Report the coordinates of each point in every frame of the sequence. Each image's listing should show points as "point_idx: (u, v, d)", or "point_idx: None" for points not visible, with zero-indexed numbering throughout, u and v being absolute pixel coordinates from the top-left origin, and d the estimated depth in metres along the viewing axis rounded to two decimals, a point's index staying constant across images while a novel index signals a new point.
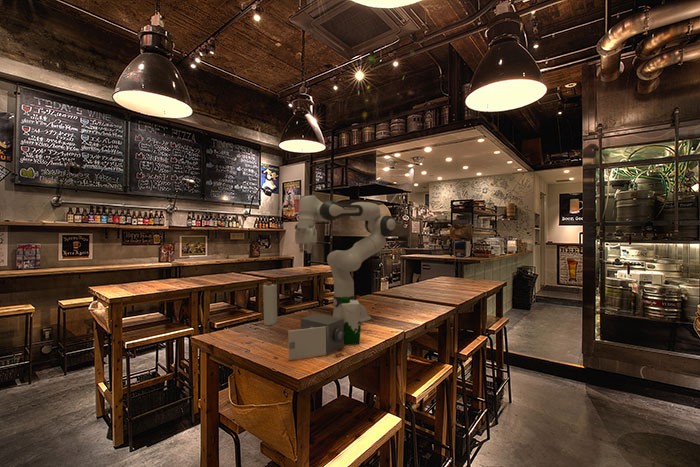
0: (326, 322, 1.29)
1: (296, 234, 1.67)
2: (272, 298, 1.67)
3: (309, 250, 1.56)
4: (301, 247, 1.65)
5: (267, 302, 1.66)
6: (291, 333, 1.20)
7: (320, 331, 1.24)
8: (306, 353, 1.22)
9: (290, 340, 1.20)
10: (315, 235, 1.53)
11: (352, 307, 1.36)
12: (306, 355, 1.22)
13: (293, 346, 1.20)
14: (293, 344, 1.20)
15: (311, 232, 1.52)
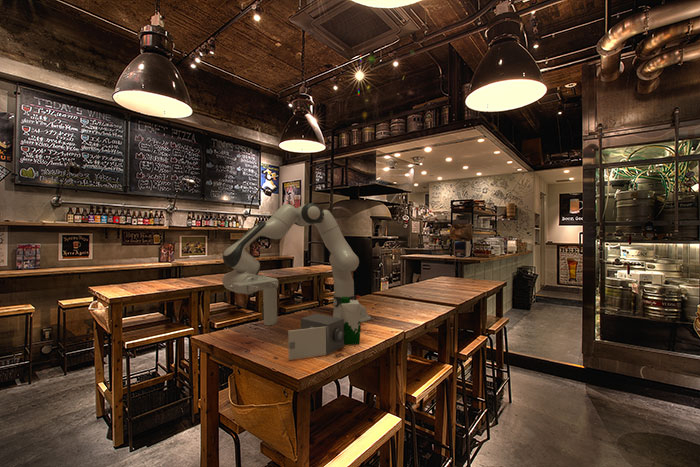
0: (326, 322, 1.29)
1: None
2: (272, 298, 1.67)
3: (254, 288, 1.26)
4: None
5: (267, 302, 1.66)
6: (291, 333, 1.20)
7: (320, 331, 1.24)
8: (306, 353, 1.22)
9: (290, 340, 1.20)
10: (234, 286, 1.27)
11: (352, 307, 1.36)
12: (306, 355, 1.22)
13: (293, 346, 1.20)
14: (293, 344, 1.20)
15: (233, 290, 1.28)
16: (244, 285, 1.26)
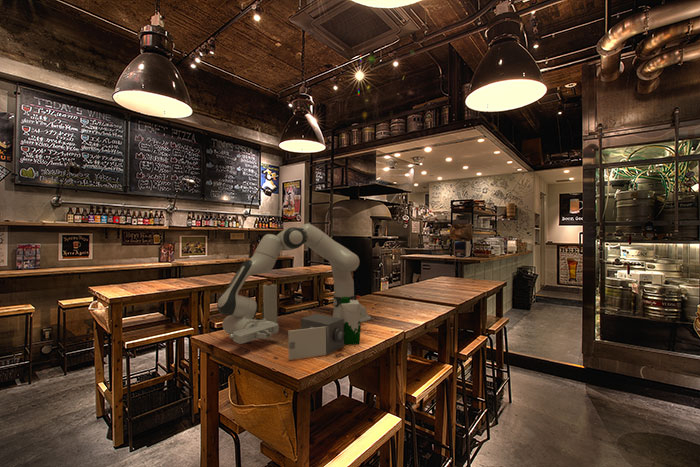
0: (326, 322, 1.29)
1: None
2: (272, 298, 1.67)
3: (263, 336, 1.29)
4: None
5: (267, 302, 1.66)
6: (291, 333, 1.20)
7: (320, 331, 1.24)
8: (306, 353, 1.22)
9: (290, 340, 1.20)
10: (234, 335, 1.27)
11: (352, 307, 1.36)
12: (306, 355, 1.22)
13: (293, 346, 1.20)
14: (293, 344, 1.20)
15: (233, 340, 1.29)
16: (244, 335, 1.27)
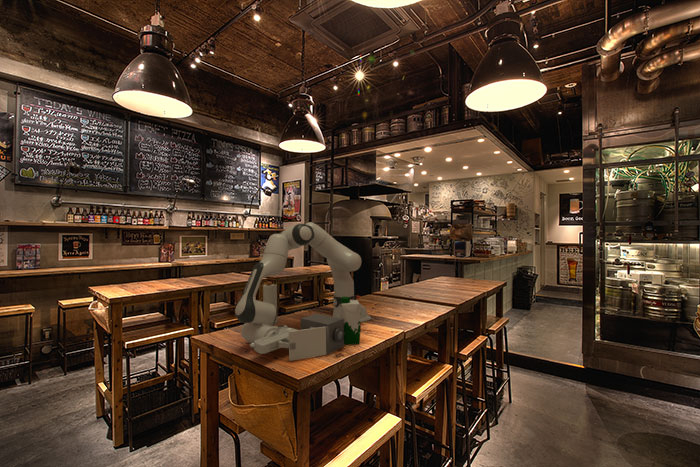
0: (326, 322, 1.29)
1: None
2: (272, 298, 1.67)
3: (285, 345, 1.20)
4: None
5: (267, 302, 1.66)
6: (292, 334, 1.20)
7: (321, 331, 1.24)
8: (306, 353, 1.22)
9: (291, 341, 1.19)
10: (256, 345, 1.19)
11: (352, 307, 1.36)
12: (306, 356, 1.22)
13: (294, 347, 1.19)
14: (294, 345, 1.19)
15: (254, 349, 1.20)
16: (266, 344, 1.18)
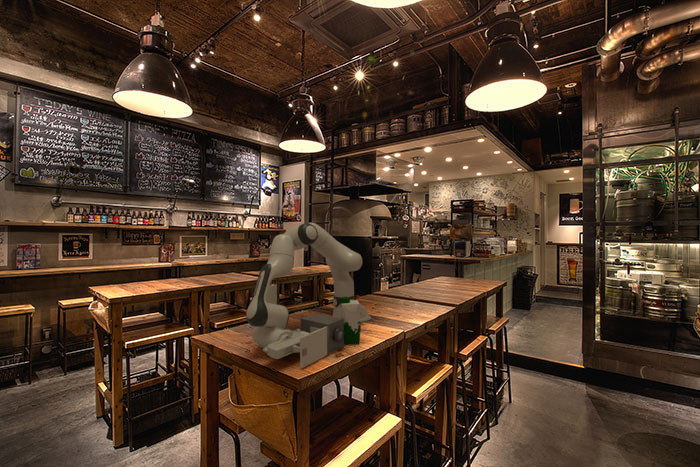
0: (326, 322, 1.29)
1: None
2: (272, 298, 1.67)
3: None
4: None
5: (267, 302, 1.66)
6: (303, 339, 1.13)
7: (323, 332, 1.23)
8: (314, 357, 1.18)
9: (303, 347, 1.13)
10: (269, 349, 1.14)
11: (352, 307, 1.36)
12: (314, 359, 1.18)
13: (305, 352, 1.14)
14: (305, 350, 1.14)
15: (268, 354, 1.15)
16: (281, 349, 1.12)
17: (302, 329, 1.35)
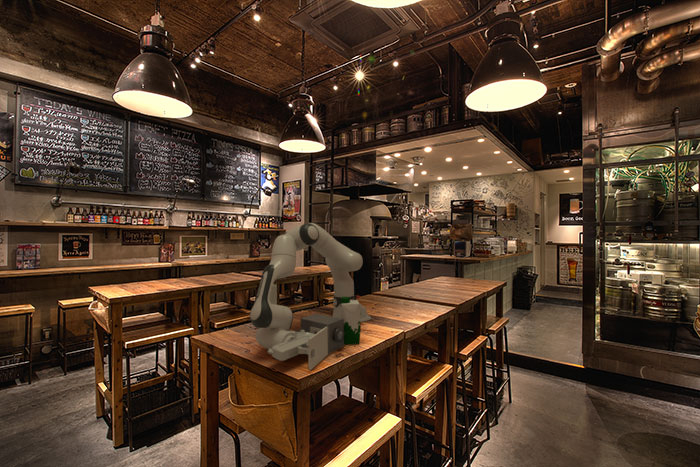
0: (326, 322, 1.29)
1: None
2: (272, 298, 1.67)
3: (305, 351, 1.14)
4: None
5: None
6: (311, 340, 1.12)
7: (325, 332, 1.23)
8: (319, 358, 1.17)
9: (311, 348, 1.11)
10: (274, 351, 1.12)
11: (352, 307, 1.36)
12: (319, 360, 1.17)
13: (313, 354, 1.12)
14: (313, 352, 1.12)
15: (273, 356, 1.13)
16: (286, 351, 1.11)
17: (302, 329, 1.35)
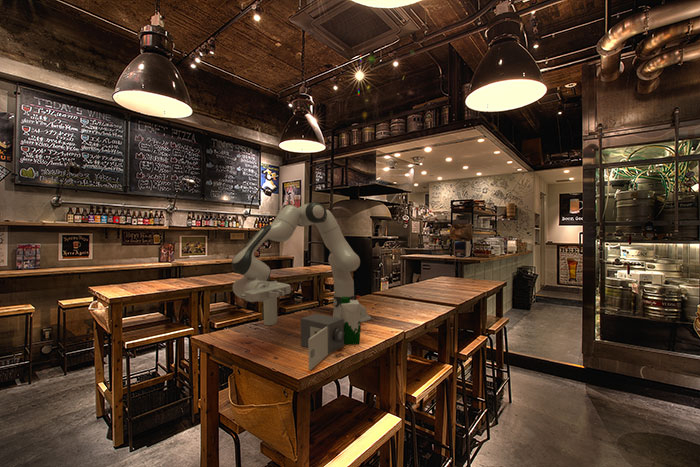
0: (326, 322, 1.29)
1: None
2: (272, 298, 1.67)
3: (275, 294, 1.25)
4: None
5: (267, 302, 1.66)
6: (311, 340, 1.12)
7: (325, 332, 1.23)
8: (319, 358, 1.17)
9: (311, 348, 1.11)
10: (246, 294, 1.23)
11: (352, 307, 1.36)
12: (319, 360, 1.17)
13: (313, 354, 1.12)
14: (313, 352, 1.12)
15: (245, 299, 1.24)
16: (256, 293, 1.22)
17: (302, 329, 1.35)
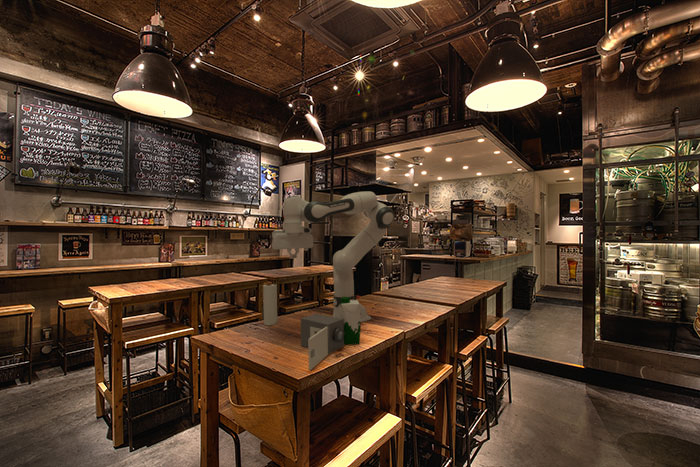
0: (326, 322, 1.29)
1: None
2: (272, 298, 1.67)
3: (290, 255, 1.50)
4: (296, 252, 1.52)
5: (267, 302, 1.66)
6: (311, 340, 1.12)
7: (325, 332, 1.23)
8: (319, 358, 1.17)
9: (311, 348, 1.11)
10: (273, 240, 1.45)
11: (352, 307, 1.36)
12: (319, 360, 1.17)
13: (313, 354, 1.12)
14: (313, 352, 1.12)
15: (273, 237, 1.47)
16: None
17: (302, 329, 1.35)
